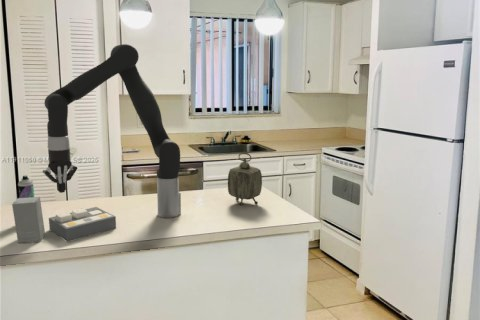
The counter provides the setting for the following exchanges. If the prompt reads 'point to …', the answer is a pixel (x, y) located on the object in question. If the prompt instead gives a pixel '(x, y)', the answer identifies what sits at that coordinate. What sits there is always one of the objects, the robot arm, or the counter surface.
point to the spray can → (26, 188)
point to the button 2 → (95, 212)
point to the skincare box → (28, 219)
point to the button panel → (83, 225)
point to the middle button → (79, 213)
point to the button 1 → (63, 217)
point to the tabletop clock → (244, 181)
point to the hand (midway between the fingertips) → (61, 192)
